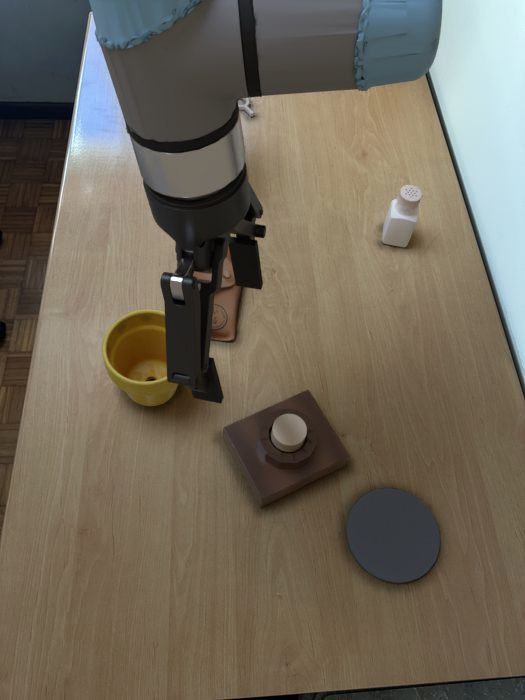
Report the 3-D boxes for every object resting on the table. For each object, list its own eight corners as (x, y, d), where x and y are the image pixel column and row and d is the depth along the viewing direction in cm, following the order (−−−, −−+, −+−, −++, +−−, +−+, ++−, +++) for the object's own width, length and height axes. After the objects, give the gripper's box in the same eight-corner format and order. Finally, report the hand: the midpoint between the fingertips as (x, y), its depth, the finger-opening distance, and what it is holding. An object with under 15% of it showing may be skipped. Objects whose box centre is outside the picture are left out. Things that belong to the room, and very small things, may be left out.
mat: (439, 498, 80) (440, 496, 80) (437, 591, 75) (439, 590, 74) (349, 482, 81) (350, 480, 80) (341, 574, 75) (342, 573, 74)
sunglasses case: (237, 342, 89) (213, 314, 84) (193, 349, 92) (167, 323, 87) (254, 240, 98) (233, 210, 94) (213, 250, 101) (190, 221, 97)
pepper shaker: (406, 249, 101) (424, 205, 92) (380, 244, 101) (396, 200, 93) (408, 230, 103) (425, 185, 95) (382, 225, 103) (398, 180, 95)
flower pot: (196, 415, 84) (196, 378, 75) (113, 425, 82) (103, 388, 74) (188, 346, 89) (186, 304, 80) (109, 354, 87) (99, 311, 79)
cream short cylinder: (294, 415, 80) (296, 408, 78) (310, 443, 78) (313, 436, 76) (264, 429, 78) (266, 421, 77) (281, 457, 77) (283, 451, 75)
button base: (305, 399, 86) (310, 381, 82) (345, 465, 82) (353, 449, 77) (222, 437, 82) (223, 420, 78) (259, 508, 78) (263, 494, 74)
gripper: (198, 60, 54) (230, 239, 72) (72, 293, 41) (149, 443, 59) (287, 67, 53) (298, 249, 70) (185, 313, 40) (229, 461, 57)
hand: (230, 338), depth 65 cm, fingers open, 13 cm apart
